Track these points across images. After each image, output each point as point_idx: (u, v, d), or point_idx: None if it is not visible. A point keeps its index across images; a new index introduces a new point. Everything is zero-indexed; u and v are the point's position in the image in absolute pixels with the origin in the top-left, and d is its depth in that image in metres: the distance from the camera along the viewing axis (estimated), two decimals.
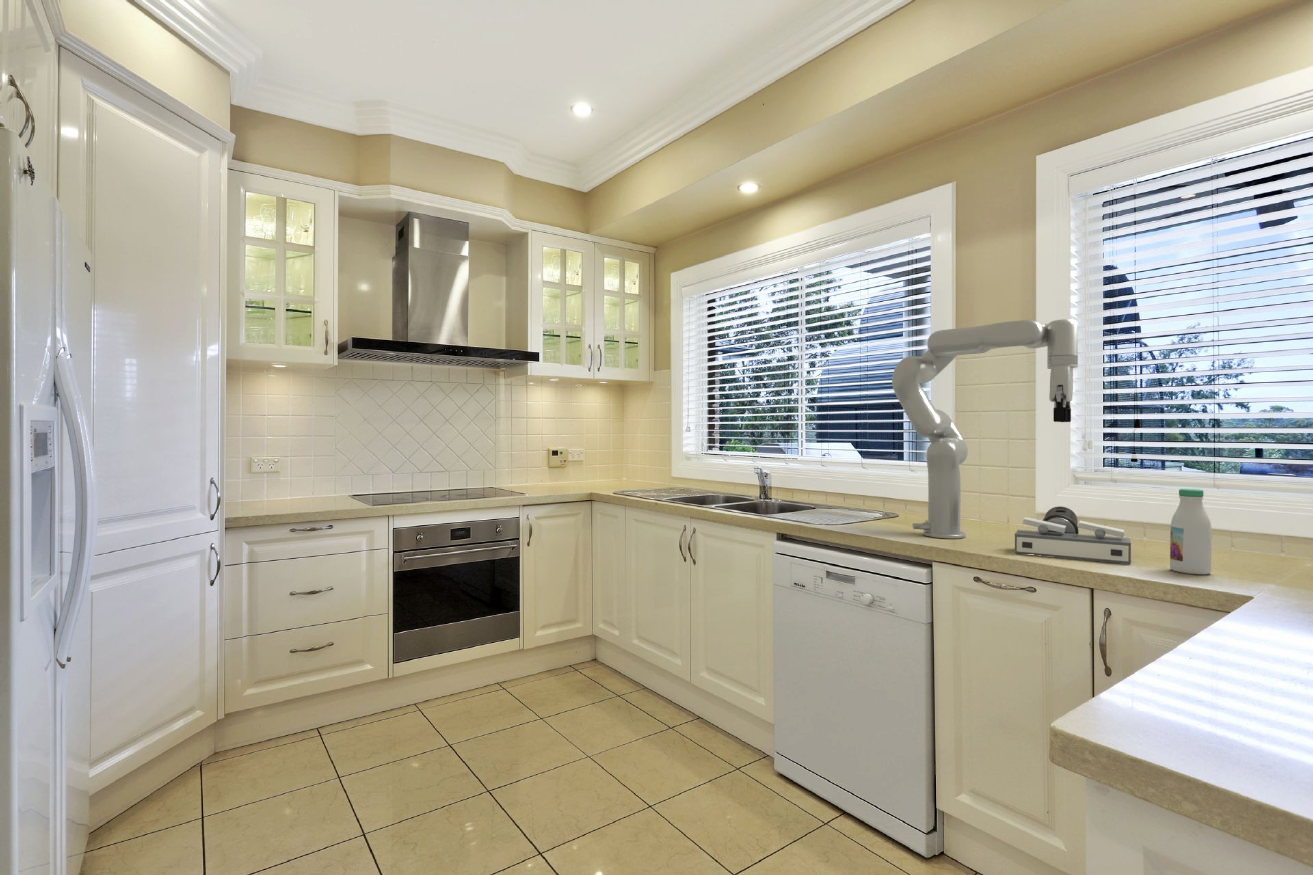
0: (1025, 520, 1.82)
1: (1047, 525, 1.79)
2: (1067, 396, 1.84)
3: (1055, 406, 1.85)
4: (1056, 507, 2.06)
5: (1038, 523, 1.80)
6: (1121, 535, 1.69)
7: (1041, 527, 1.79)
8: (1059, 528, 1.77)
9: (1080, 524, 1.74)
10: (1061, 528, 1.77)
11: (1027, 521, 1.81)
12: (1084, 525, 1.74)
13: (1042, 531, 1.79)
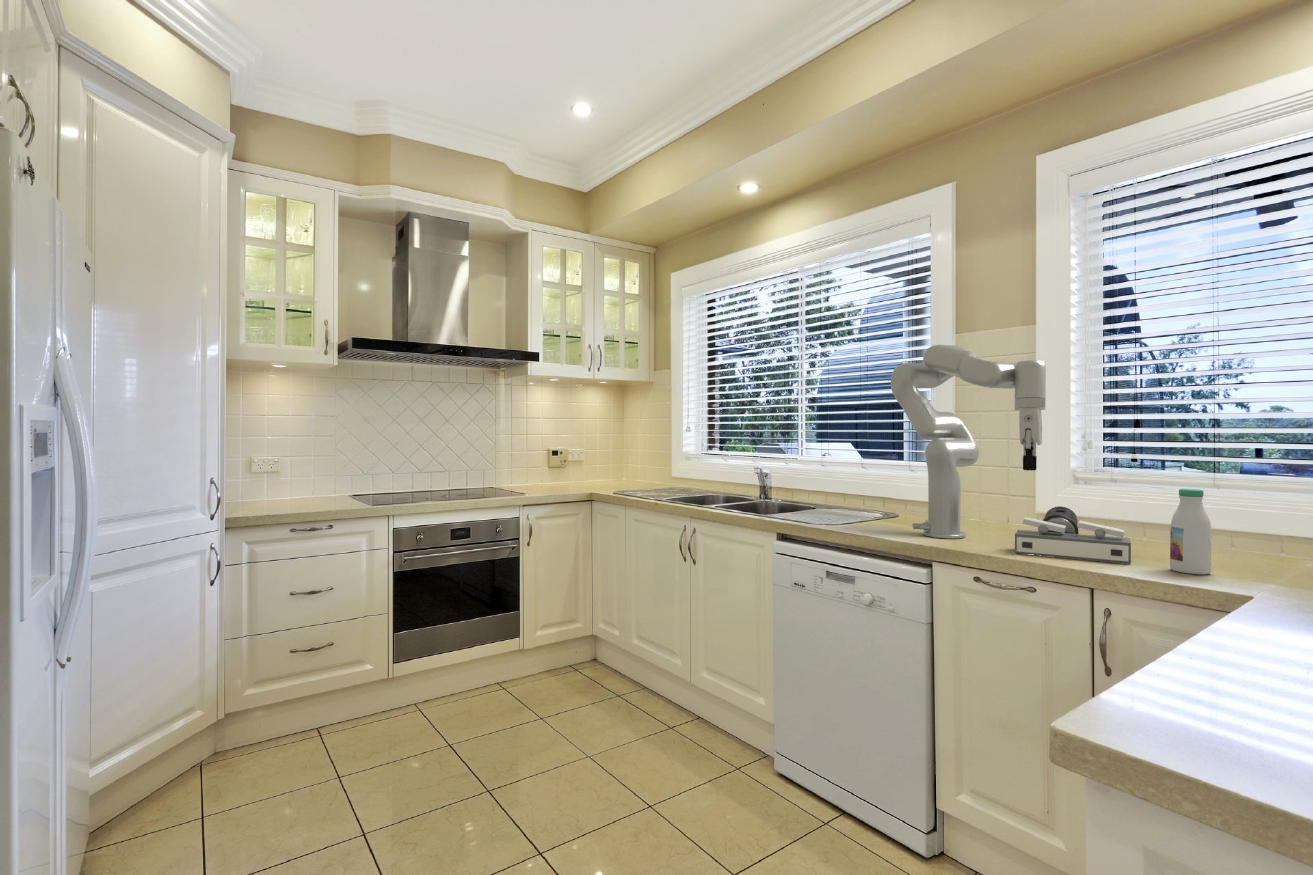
0: (1025, 520, 1.82)
1: (1047, 525, 1.79)
2: None
3: None
4: (1056, 507, 2.06)
5: (1038, 523, 1.80)
6: (1121, 535, 1.69)
7: (1041, 527, 1.79)
8: (1059, 528, 1.77)
9: (1080, 524, 1.74)
10: (1061, 528, 1.77)
11: (1027, 521, 1.81)
12: (1084, 525, 1.74)
13: (1042, 531, 1.79)
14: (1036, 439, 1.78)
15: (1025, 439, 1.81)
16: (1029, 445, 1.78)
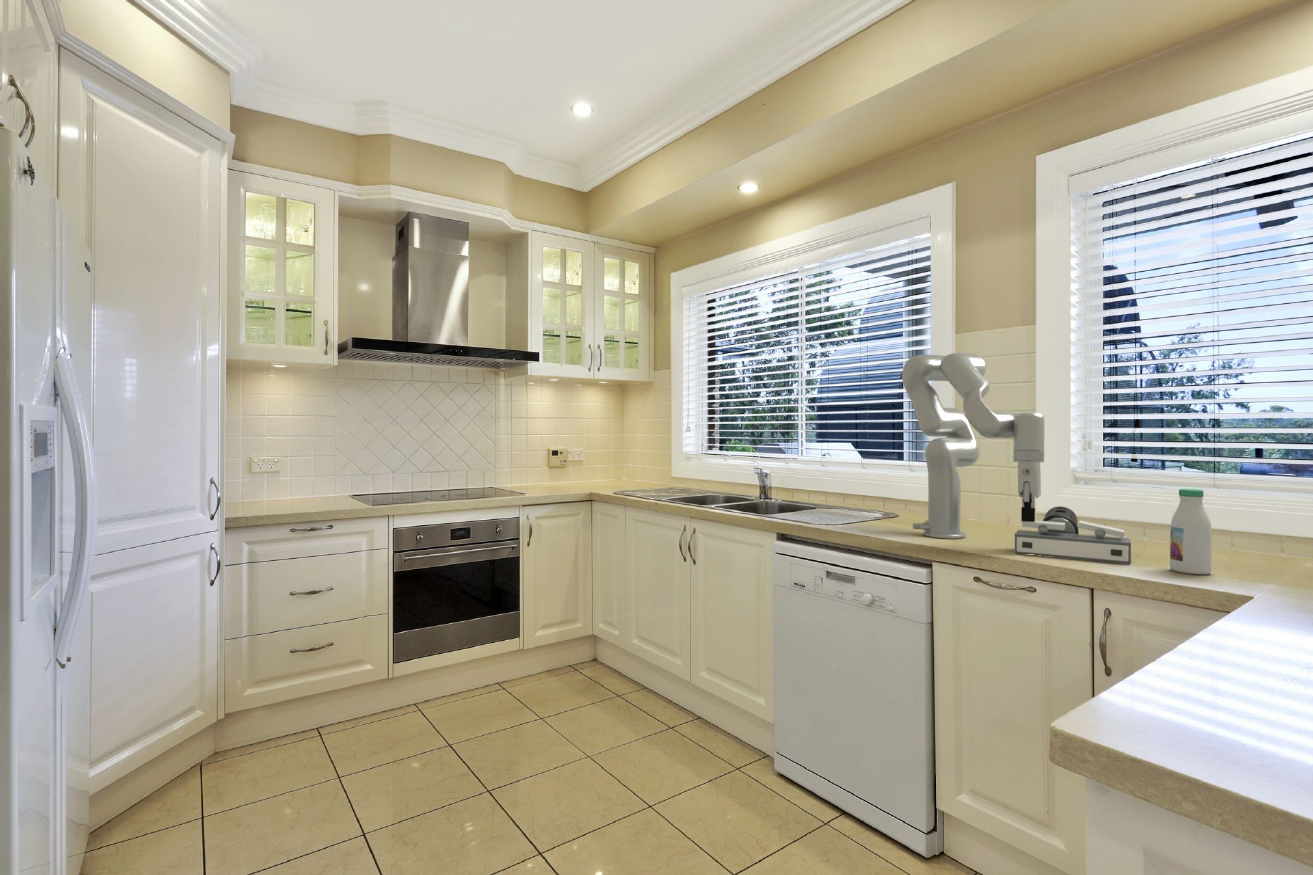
0: (1024, 522, 1.82)
1: (1046, 524, 1.79)
2: None
3: None
4: (1056, 507, 2.06)
5: (1037, 524, 1.80)
6: (1121, 535, 1.69)
7: (1041, 527, 1.79)
8: (1058, 526, 1.77)
9: (1080, 524, 1.74)
10: (1060, 525, 1.77)
11: (1026, 523, 1.81)
12: (1084, 525, 1.74)
13: (1042, 531, 1.79)
14: (1035, 493, 1.78)
15: (1023, 492, 1.81)
16: (1027, 498, 1.79)
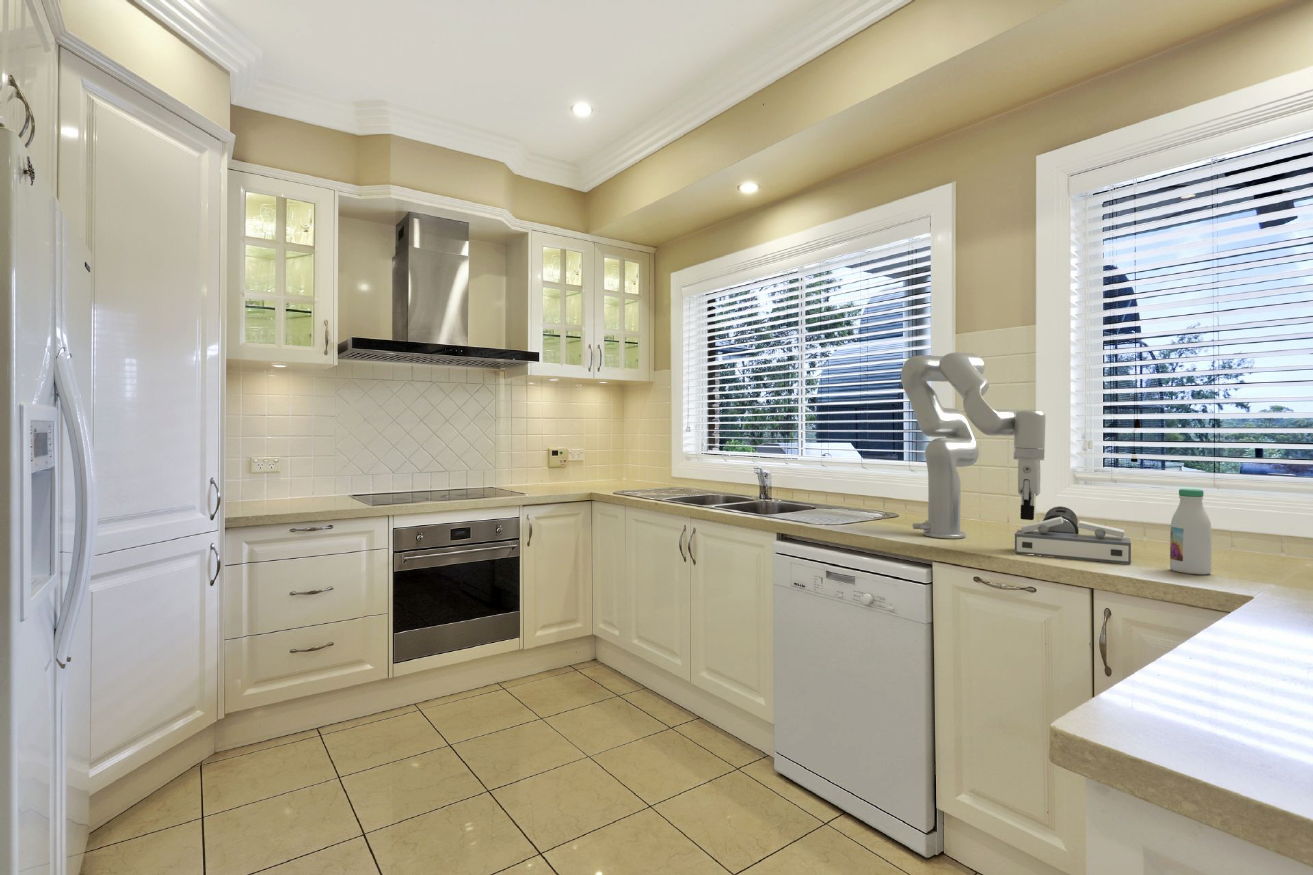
0: (1023, 528, 1.82)
1: (1044, 523, 1.79)
2: None
3: None
4: (1056, 507, 2.05)
5: (1036, 525, 1.80)
6: (1121, 535, 1.69)
7: (1040, 528, 1.80)
8: (1056, 521, 1.77)
9: (1080, 524, 1.74)
10: (1057, 520, 1.77)
11: (1025, 528, 1.82)
12: (1084, 525, 1.74)
13: (1043, 531, 1.79)
14: (1034, 491, 1.78)
15: (1023, 489, 1.81)
16: (1027, 496, 1.79)
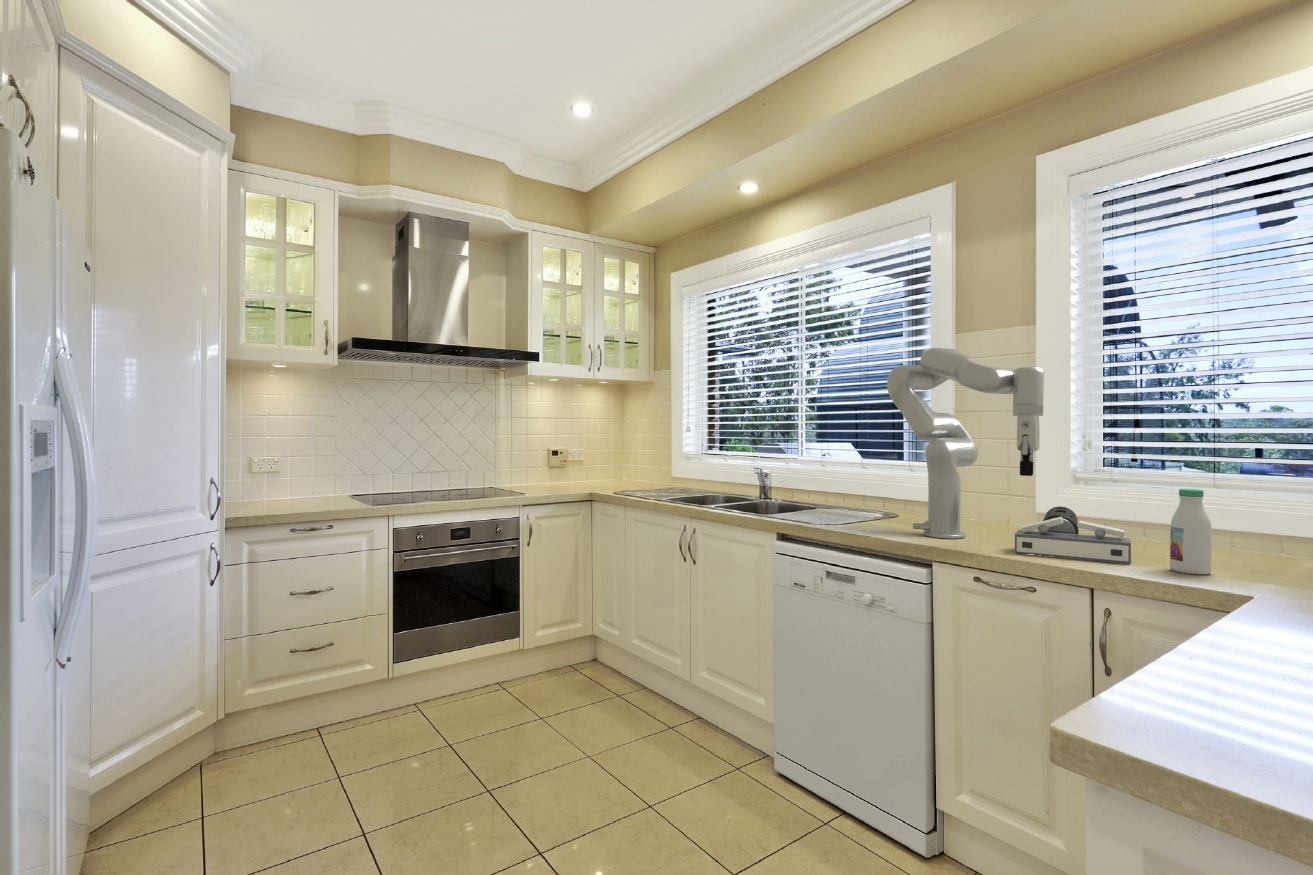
0: (1023, 528, 1.82)
1: (1044, 523, 1.79)
2: None
3: None
4: (1056, 507, 2.05)
5: (1036, 525, 1.80)
6: (1121, 535, 1.69)
7: (1040, 528, 1.80)
8: (1056, 521, 1.77)
9: (1080, 524, 1.74)
10: (1057, 520, 1.77)
11: (1025, 528, 1.82)
12: (1084, 525, 1.74)
13: (1043, 531, 1.79)
14: (1033, 446, 1.80)
15: (1022, 445, 1.83)
16: (1026, 451, 1.81)
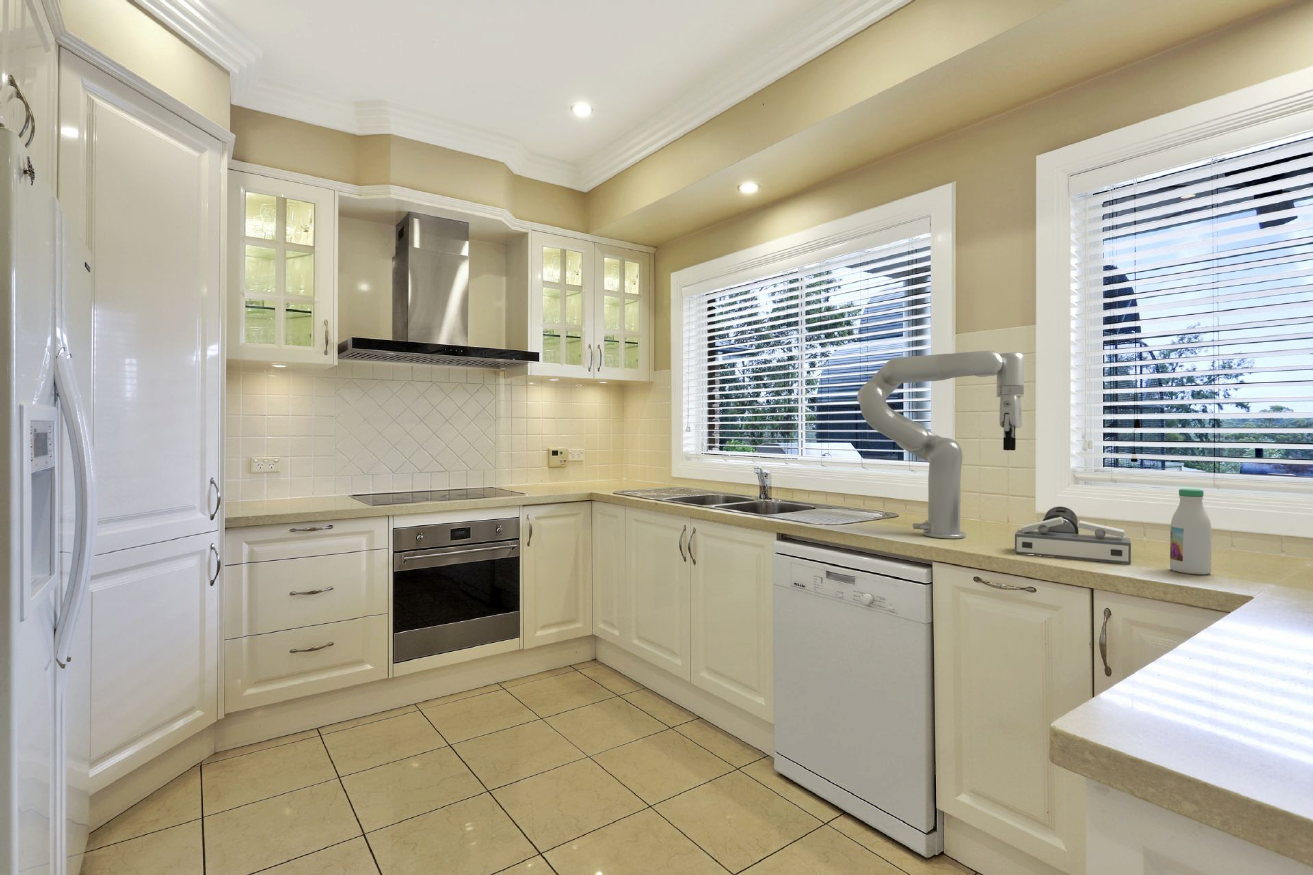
0: (1023, 528, 1.82)
1: (1044, 523, 1.79)
2: None
3: (1013, 437, 2.06)
4: (1056, 507, 2.06)
5: (1036, 525, 1.80)
6: (1121, 535, 1.69)
7: (1040, 528, 1.80)
8: (1056, 521, 1.77)
9: (1080, 524, 1.74)
10: (1057, 520, 1.77)
11: (1025, 528, 1.82)
12: (1084, 525, 1.74)
13: (1043, 531, 1.79)
14: (1014, 422, 2.01)
15: (1004, 422, 2.04)
16: (1007, 427, 2.01)
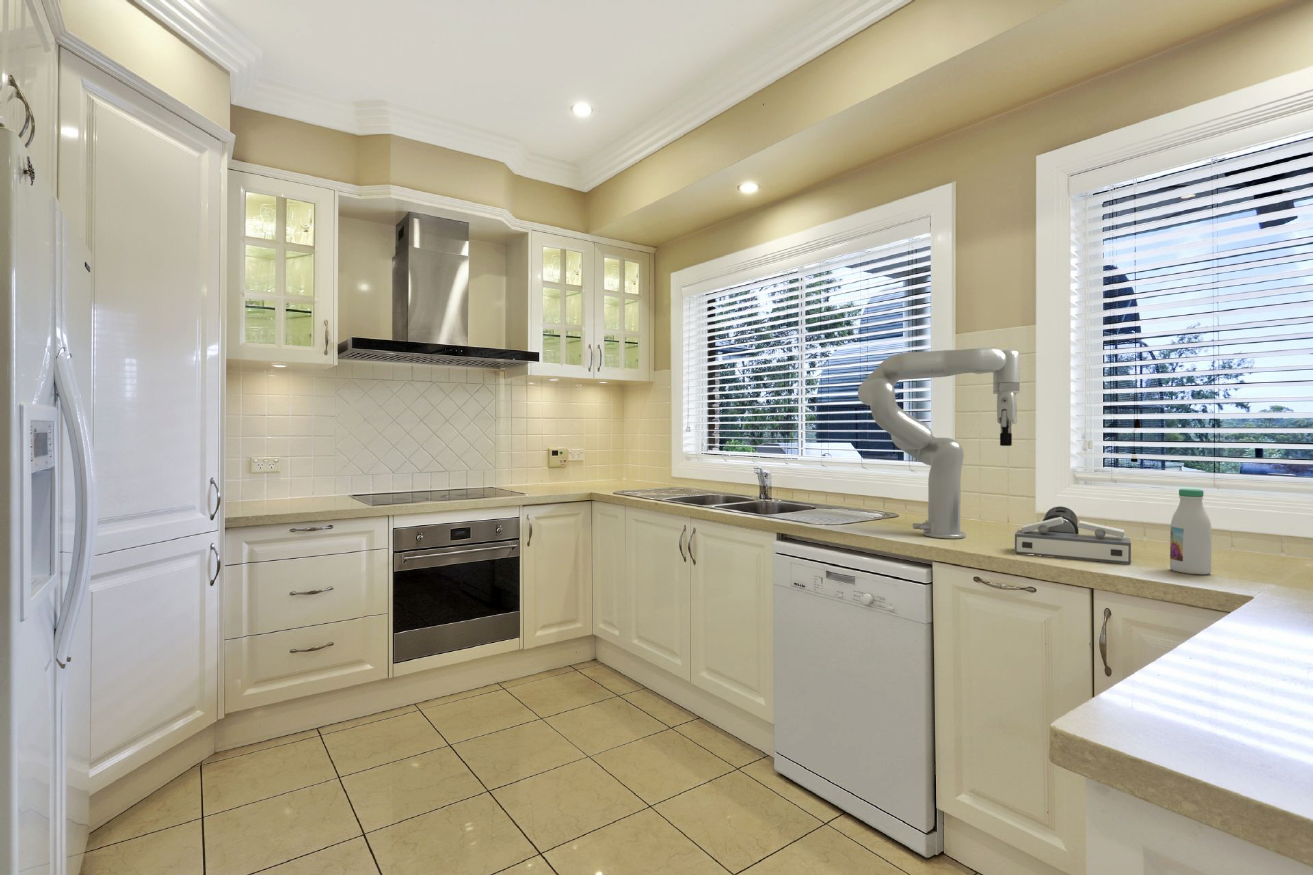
0: (1023, 528, 1.82)
1: (1044, 523, 1.79)
2: None
3: (1009, 433, 2.11)
4: (1056, 507, 2.06)
5: (1036, 525, 1.80)
6: (1121, 535, 1.69)
7: (1040, 528, 1.80)
8: (1056, 521, 1.77)
9: (1080, 524, 1.74)
10: (1057, 520, 1.77)
11: (1025, 528, 1.82)
12: (1084, 525, 1.74)
13: (1043, 531, 1.79)
14: (1011, 418, 2.05)
15: None
16: (1005, 423, 2.06)
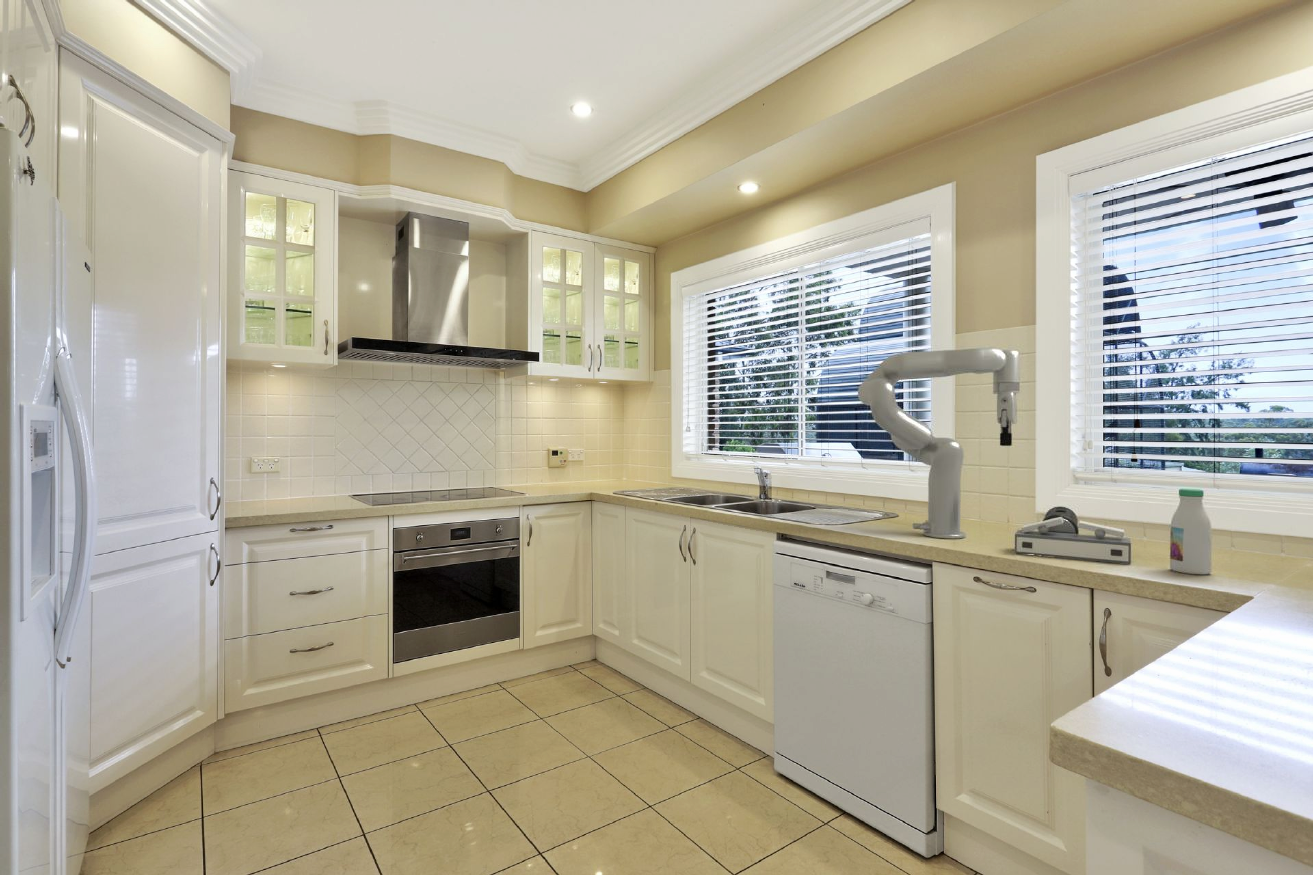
0: (1023, 528, 1.82)
1: (1044, 523, 1.79)
2: None
3: (1009, 433, 2.11)
4: (1056, 507, 2.06)
5: (1036, 525, 1.80)
6: (1121, 535, 1.69)
7: (1040, 528, 1.80)
8: (1056, 521, 1.77)
9: (1080, 524, 1.74)
10: (1057, 520, 1.77)
11: (1025, 528, 1.82)
12: (1084, 525, 1.74)
13: (1043, 531, 1.79)
14: (1011, 418, 2.05)
15: None
16: (1005, 423, 2.06)
